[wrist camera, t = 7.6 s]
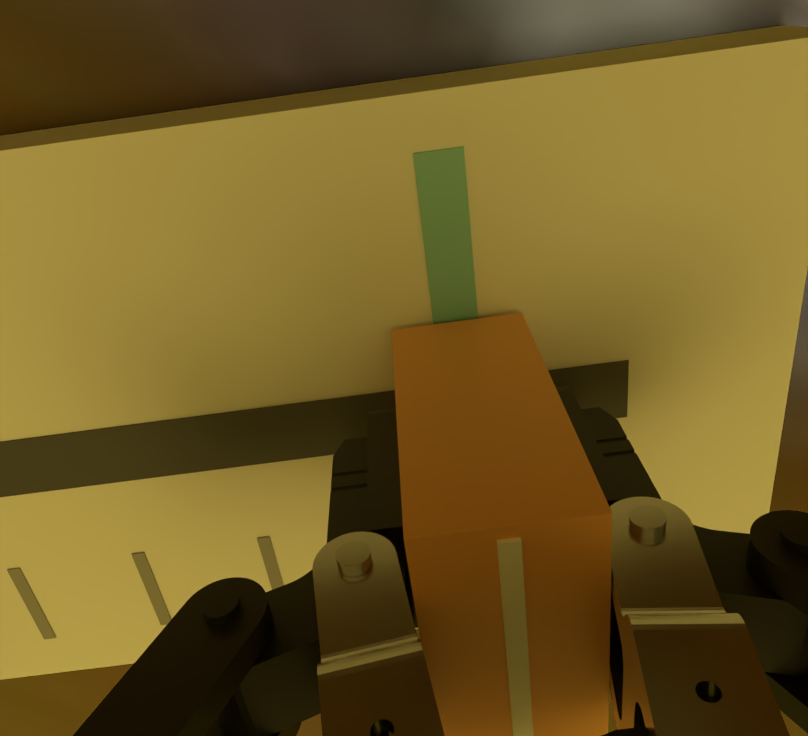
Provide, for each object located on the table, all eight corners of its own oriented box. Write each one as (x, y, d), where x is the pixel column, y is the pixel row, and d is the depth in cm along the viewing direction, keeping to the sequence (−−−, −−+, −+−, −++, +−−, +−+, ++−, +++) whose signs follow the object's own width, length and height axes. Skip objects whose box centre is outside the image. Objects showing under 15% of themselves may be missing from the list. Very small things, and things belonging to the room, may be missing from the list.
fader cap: (391, 329, 14) (404, 543, 9) (521, 312, 14) (614, 517, 9) (417, 502, 16) (439, 759, 11) (530, 488, 16) (609, 739, 11)
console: (-414, 194, 14) (-668, 264, 11) (784, 25, 14) (924, 42, 10) (-110, 637, 21) (-208, 772, 17) (723, 534, 20) (798, 651, 17)
